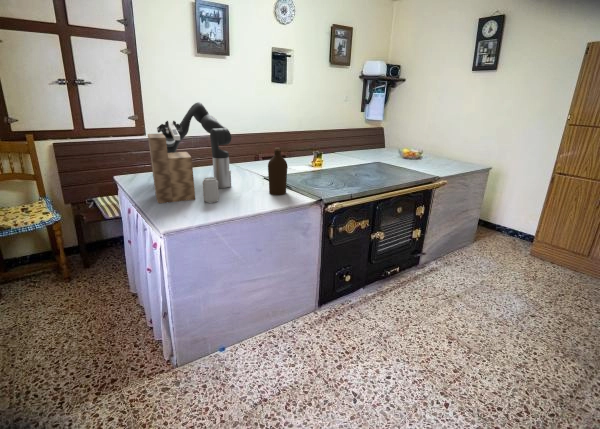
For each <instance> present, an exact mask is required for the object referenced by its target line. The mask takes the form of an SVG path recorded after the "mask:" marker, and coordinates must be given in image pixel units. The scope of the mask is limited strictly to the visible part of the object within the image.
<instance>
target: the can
mask: <svg viewBox="0 0 600 429" xmlns="http://www.w3.org/2000/svg"><path fill="white" fill-rule="evenodd" d="M202 192H203V201H204V202H205V203H207V204H214V203H218V201H219V200H220V194H219V188H218V181H217V180H216V178H214V176H211V177H210V176H208V177H204V178H203V180H202Z"/></svg>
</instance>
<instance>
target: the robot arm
mask: <svg viewBox="0 0 600 429" xmlns="http://www.w3.org/2000/svg"><path fill="white" fill-rule="evenodd" d="M192 118H194V120H195V121H197V122H198V123H200V124H201V127H202V128H203V129H204V130H205V131H206V133H209V137H210V147H211V156H212V166H213V167H212V171H213V177H214V178H216V180H217V181H218V189H226V188H230V187H232V175H231V174H232V171H231V170H230V153H229V151H227V150H223V149H221V148H220V147H219V146H227V145H229V144H230V143H231V142H232V133H231V132H230V130H229V129H228V128H227V127H225V126H224V125H222V123H220V122H219V121H218V120H217V118H215V117H214V116H213V115H211V114H209V111H208V110H207V109H206V107H205V106H204V105H203V103H202V102H195V103H194V104H193V105H191V106H190V107H189V109H188V111H186V114H185V115H184V117H183V118H182V120H181V122H180V123H177V122H176V120H172V122H173V124H174V126H175V128H176V130H177V131H178V133H179V135H180V140H174V138H173V136H172V134H171V132H170V130H169V128H168V125H169V123H168V122H169V120H166V121H164V124H163V123H161V124H160V125H159V126H157V127H156V132H157V134H160V133H163V135H164V136H165V137H166V144H167V153H174V152H177V150H178V148H179V145H180V143H181V142H182V141H183V139H184V138H185V137H186V136H187V134H188V133H189V130H190V126H191V122H192Z"/></svg>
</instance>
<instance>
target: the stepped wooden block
mask: <svg viewBox="0 0 600 429" xmlns="http://www.w3.org/2000/svg"><path fill="white" fill-rule="evenodd" d="M147 139H148V140H147V141H148V148H149V154H150V164H151V170H152V177H153V186H154V193H155V194H154V195H155V198H156V201H157V204H158V203H159V204H167V202H168V203H175V202H185V201H193V200H196V191H195V189H196V188H195V180H194V169H193V168H194V167H193V157H192V156H191V155H190V153H189V152H188V151H178V152H177V151H176V152H174V153H167V144H166V137H165V136H164V135H163V133H162V132H160V133H147Z"/></svg>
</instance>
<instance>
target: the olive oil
mask: <svg viewBox="0 0 600 429" xmlns="http://www.w3.org/2000/svg"><path fill="white" fill-rule="evenodd" d="M281 151H282V148H281V147H274V152H273V153H274V155H273V156H272V157H271V158H270V159H269V160H268V163H267V172H268V174H267V175H268V190H269V191H268V193H269V194H270V195H272V196H283V195H286V194H287V180H288V178H287V177H288V163H287V161H286V159H285V158H284V157H283V156H282V152H281Z"/></svg>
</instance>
